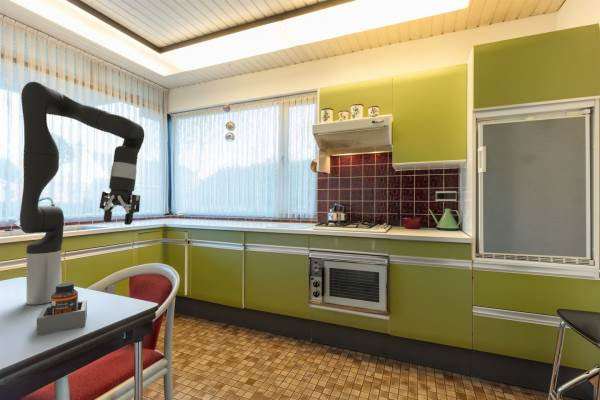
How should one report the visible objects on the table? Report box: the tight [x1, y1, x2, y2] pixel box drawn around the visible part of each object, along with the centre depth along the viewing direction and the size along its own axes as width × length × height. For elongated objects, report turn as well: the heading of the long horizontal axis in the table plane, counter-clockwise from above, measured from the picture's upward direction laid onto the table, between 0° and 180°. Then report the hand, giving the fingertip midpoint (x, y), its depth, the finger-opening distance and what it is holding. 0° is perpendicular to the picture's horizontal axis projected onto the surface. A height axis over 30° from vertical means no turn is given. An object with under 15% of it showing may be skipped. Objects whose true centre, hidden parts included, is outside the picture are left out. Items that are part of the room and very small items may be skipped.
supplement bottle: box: [50, 282, 79, 315], centre depth 81 cm, size 6×6×11 cm
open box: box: [36, 299, 88, 337], centre depth 81 cm, size 10×10×4 cm
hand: (117, 223), depth 99 cm, fingers open, 8 cm apart
